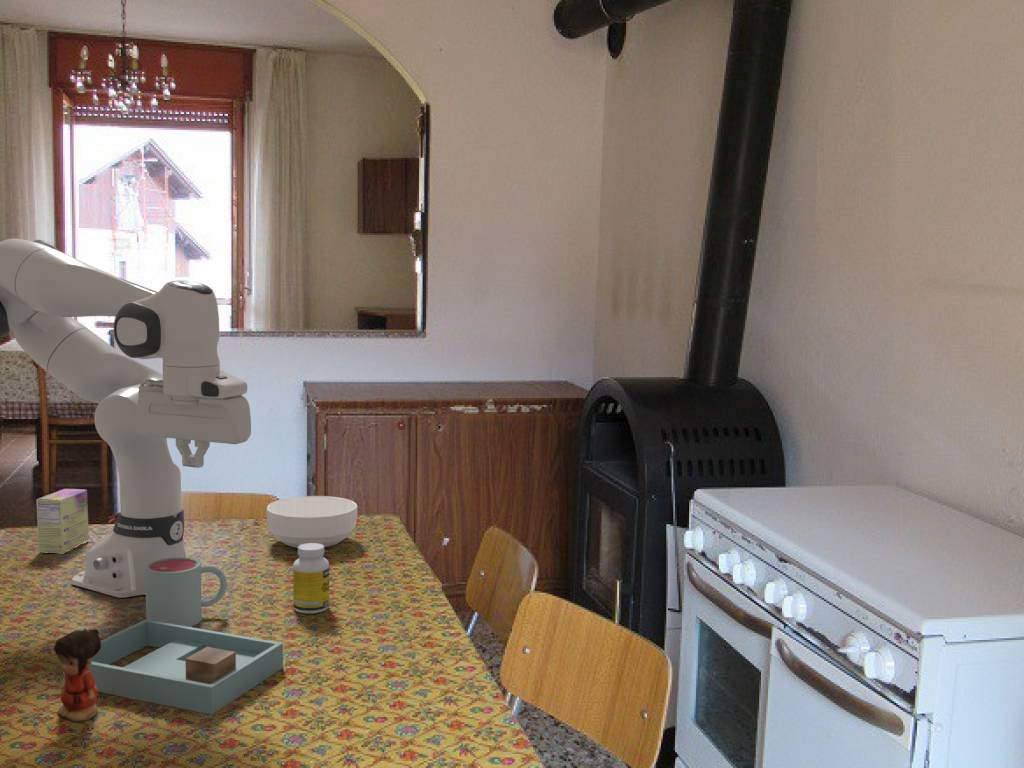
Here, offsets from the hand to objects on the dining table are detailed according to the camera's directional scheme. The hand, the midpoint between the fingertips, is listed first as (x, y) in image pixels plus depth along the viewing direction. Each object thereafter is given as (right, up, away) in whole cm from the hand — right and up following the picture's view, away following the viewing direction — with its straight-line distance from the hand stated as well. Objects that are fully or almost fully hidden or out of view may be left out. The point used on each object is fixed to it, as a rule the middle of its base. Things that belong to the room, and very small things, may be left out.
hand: (193, 466), depth 169 cm
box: (-44, -22, +53) cm, 73 cm away
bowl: (+8, -22, +61) cm, 65 cm away
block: (+8, -30, -18) cm, 36 cm away
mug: (-5, -28, +13) cm, 31 cm away
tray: (+1, -31, -12) cm, 33 cm away
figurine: (-8, -33, -25) cm, 42 cm away
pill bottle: (+16, -28, +19) cm, 37 cm away
